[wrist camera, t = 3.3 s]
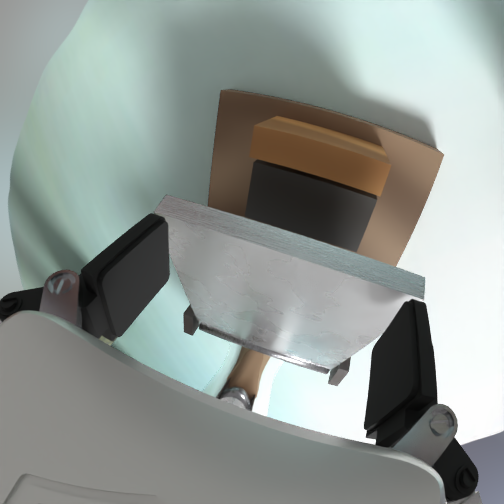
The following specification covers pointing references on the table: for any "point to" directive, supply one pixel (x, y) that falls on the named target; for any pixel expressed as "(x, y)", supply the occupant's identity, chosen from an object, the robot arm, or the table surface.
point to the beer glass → (245, 379)
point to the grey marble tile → (281, 286)
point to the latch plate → (388, 204)
